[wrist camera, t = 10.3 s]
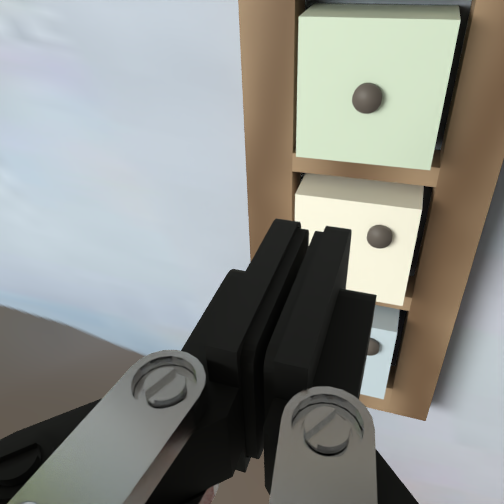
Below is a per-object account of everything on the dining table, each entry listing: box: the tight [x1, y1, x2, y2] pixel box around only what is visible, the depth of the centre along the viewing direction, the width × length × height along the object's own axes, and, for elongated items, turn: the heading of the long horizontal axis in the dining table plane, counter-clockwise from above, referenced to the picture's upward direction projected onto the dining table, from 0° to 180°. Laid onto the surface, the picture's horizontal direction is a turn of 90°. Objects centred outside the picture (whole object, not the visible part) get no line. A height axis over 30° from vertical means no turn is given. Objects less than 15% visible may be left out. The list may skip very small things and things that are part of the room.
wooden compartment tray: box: [238, 0, 504, 421], centre depth 26 cm, size 12×28×2 cm, turn 3°
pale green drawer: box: [296, 3, 461, 170], centre depth 21 cm, size 6×6×3 cm
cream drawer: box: [295, 173, 424, 306], centre depth 26 cm, size 6×6×3 cm
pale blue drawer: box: [360, 305, 400, 399], centre depth 30 cm, size 6×6×3 cm
